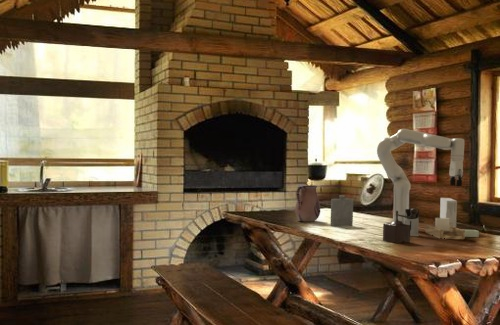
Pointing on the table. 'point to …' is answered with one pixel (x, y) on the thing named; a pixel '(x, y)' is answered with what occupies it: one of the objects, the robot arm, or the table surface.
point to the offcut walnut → (447, 232)
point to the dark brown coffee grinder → (398, 229)
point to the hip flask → (341, 212)
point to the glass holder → (412, 222)
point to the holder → (471, 233)
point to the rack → (439, 232)
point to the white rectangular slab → (442, 223)
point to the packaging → (448, 210)
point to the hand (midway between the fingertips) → (455, 185)
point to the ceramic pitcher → (307, 203)
